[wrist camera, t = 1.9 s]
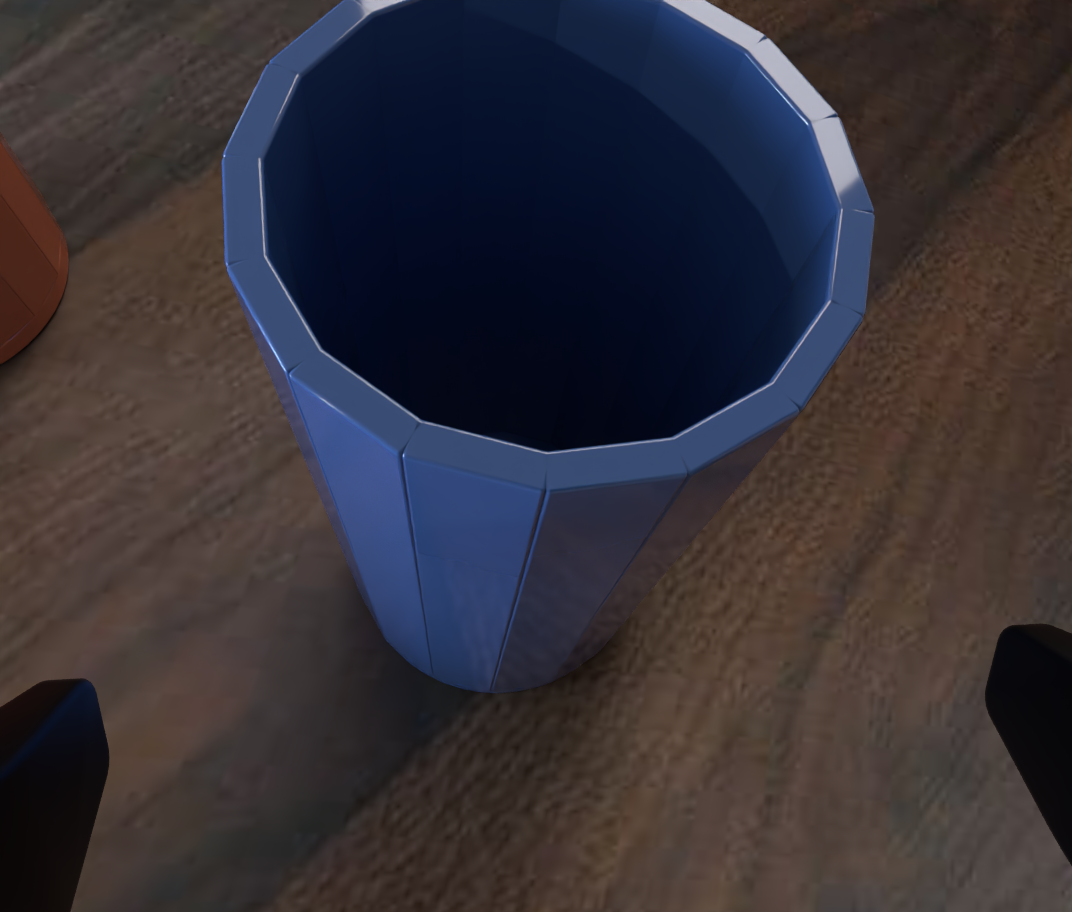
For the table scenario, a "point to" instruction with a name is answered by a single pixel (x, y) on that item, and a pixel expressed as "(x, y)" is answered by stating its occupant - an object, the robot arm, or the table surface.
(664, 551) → the blue cup
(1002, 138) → the table surface
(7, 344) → the terracotta cup
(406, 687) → the table surface
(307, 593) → the table surface
